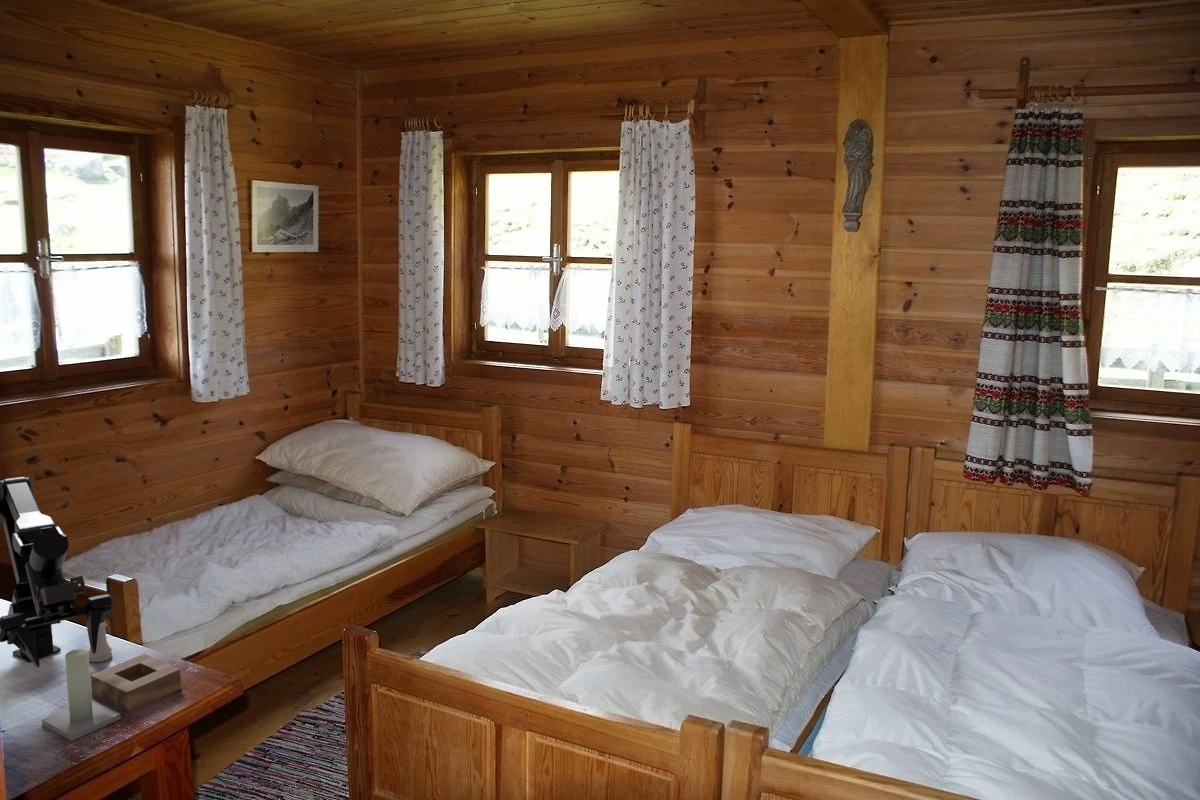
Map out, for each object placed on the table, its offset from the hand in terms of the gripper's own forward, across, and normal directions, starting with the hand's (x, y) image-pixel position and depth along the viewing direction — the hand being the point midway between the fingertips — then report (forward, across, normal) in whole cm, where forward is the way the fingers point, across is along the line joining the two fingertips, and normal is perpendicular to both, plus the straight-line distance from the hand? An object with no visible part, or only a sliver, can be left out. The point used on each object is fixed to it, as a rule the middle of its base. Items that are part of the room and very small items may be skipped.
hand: (67, 659), depth 175 cm
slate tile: (+12, 0, +1) cm, 12 cm away
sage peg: (+11, 0, 0) cm, 11 cm away
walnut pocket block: (+8, +11, +5) cm, 14 cm away
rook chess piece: (-5, +9, +18) cm, 21 cm away
